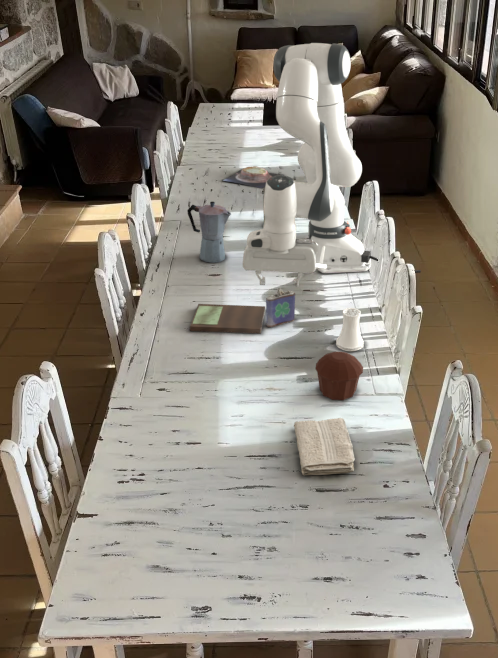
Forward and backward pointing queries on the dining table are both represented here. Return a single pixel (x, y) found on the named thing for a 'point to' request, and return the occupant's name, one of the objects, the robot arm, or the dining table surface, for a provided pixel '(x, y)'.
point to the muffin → (338, 375)
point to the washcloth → (324, 447)
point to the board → (228, 318)
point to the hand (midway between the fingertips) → (279, 285)
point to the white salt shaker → (350, 331)
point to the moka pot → (211, 230)
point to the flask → (280, 308)
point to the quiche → (251, 176)
